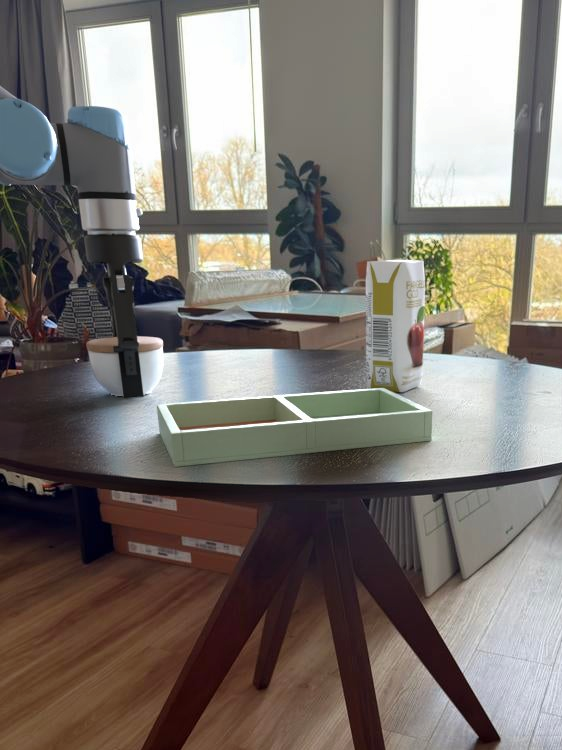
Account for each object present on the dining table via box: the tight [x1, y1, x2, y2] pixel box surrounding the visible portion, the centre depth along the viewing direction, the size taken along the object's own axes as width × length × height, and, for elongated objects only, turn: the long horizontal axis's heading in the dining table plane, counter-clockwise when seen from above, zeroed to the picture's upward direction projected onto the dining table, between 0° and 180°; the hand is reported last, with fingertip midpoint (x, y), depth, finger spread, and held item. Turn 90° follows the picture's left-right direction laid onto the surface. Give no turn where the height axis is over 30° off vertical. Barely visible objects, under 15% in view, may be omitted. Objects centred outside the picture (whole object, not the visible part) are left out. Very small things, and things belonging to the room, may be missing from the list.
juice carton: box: [365, 259, 426, 393], centre depth 111 cm, size 8×9×19 cm
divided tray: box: [156, 388, 433, 468], centre depth 85 cm, size 29×15×4 cm, turn 112°
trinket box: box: [86, 335, 165, 397], centre depth 107 cm, size 11×11×9 cm
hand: (130, 390), depth 109 cm, fingers closed on trinket box, 11 cm apart
